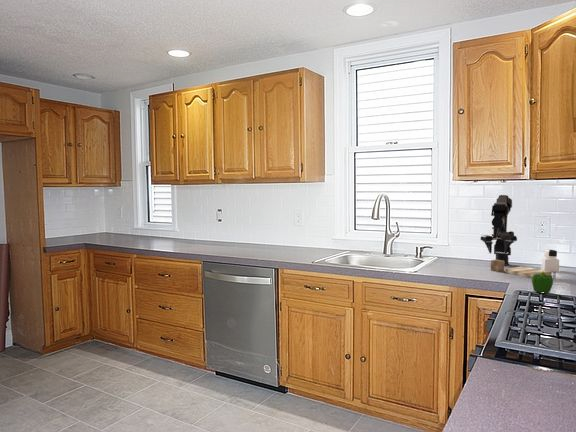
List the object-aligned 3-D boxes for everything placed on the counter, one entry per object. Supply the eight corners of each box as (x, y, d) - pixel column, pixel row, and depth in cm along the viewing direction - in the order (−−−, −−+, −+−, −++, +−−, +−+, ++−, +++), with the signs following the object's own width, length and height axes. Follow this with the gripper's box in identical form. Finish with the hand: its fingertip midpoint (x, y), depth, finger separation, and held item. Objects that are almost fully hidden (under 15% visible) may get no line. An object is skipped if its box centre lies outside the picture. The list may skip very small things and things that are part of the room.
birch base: (505, 272, 241) (505, 268, 241) (524, 269, 248) (524, 266, 248) (532, 278, 227) (532, 274, 227) (551, 275, 234) (551, 271, 234)
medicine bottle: (554, 269, 249) (555, 249, 248) (558, 272, 242) (560, 251, 241) (540, 269, 251) (541, 248, 250) (544, 271, 244) (545, 250, 243)
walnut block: (490, 270, 247) (490, 260, 247) (496, 269, 249) (496, 259, 249) (498, 272, 243) (498, 261, 242) (504, 271, 245) (504, 260, 244)
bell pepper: (534, 289, 204) (535, 268, 203) (554, 292, 198) (555, 270, 197) (528, 292, 198) (529, 270, 197) (549, 295, 192) (550, 273, 191)
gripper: (491, 227, 235) (490, 256, 236) (523, 227, 237) (522, 255, 238) (480, 225, 246) (479, 252, 247) (511, 225, 248) (510, 252, 249)
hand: (498, 253), depth 245 cm, fingers open, 9 cm apart
